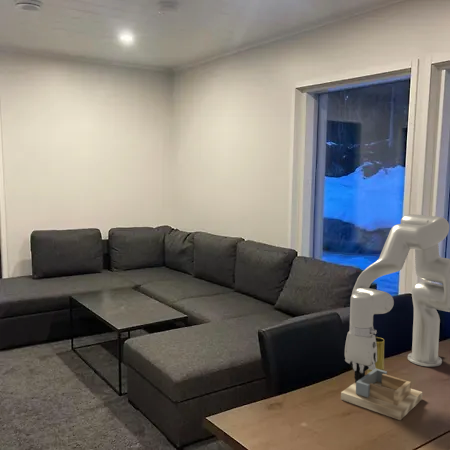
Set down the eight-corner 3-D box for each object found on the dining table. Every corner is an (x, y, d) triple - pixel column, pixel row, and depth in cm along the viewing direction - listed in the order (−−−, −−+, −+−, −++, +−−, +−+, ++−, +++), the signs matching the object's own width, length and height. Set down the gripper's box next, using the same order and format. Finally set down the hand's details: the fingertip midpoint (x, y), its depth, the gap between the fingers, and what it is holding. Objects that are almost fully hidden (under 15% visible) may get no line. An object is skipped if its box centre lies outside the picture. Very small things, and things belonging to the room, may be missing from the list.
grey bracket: (375, 379, 169) (375, 368, 169) (386, 382, 166) (387, 371, 166) (355, 393, 158) (356, 381, 158) (367, 397, 156) (368, 385, 155)
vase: (386, 380, 174) (387, 342, 173) (369, 380, 174) (370, 342, 173) (381, 373, 180) (382, 336, 179) (364, 373, 180) (366, 336, 179)
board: (365, 381, 174) (366, 364, 173) (422, 399, 160) (422, 380, 160) (340, 399, 160) (341, 380, 160) (400, 420, 147) (401, 400, 146)
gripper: (387, 332, 161) (385, 385, 163) (346, 322, 171) (345, 372, 173) (377, 338, 155) (375, 392, 157) (335, 327, 165) (334, 379, 167)
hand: (359, 381), depth 165 cm, fingers closed
